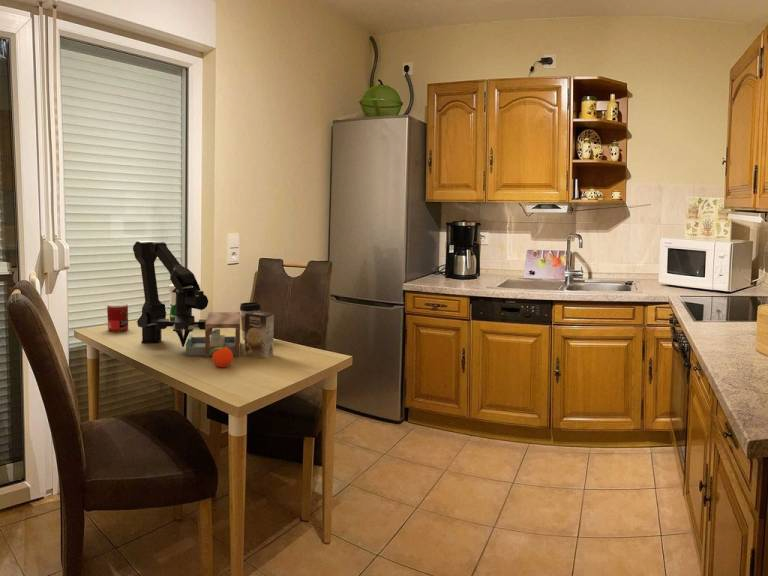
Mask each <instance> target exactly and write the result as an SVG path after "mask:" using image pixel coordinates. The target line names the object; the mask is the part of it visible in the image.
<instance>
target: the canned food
mask: <svg viewBox="0 0 768 576" xmlns="http://www.w3.org/2000/svg"><path fill="white" fill-rule="evenodd" d="M106 306H107V307H106V309H107V310H106V312H107V329H108V331H109V332H111V331H114V332H113V333H119V332H118V331H122V332H126V331H128V329H129V304H128V303H126V302H125V303H124V302H111V303H107V305H106ZM125 330H126V331H125Z"/></svg>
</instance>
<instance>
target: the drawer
mask: <svg viewBox="0 0 768 576" xmlns="http://www.w3.org/2000/svg"><path fill="white" fill-rule="evenodd" d="M218 347H227V348H228V349H230V350H231V351H232V353H233V356H235V335H233V336H229V335H228V336H226V335H225V344H224V346H210V352H211V351H212V350H213V349H215V348H218ZM215 350H216V349H215ZM215 350H213V351H212V352H211V353H210V356H213V353H214V351H215ZM185 356H205V336H193V334H192V333H191V334H190V333H189V334H188V337H187V339H186V342H185Z"/></svg>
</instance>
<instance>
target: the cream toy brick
mask: <svg viewBox="0 0 768 576" xmlns="http://www.w3.org/2000/svg"><path fill="white" fill-rule="evenodd" d="M225 336H226V335H225V334H221V328H213V329H212V332H211V335H210V346H224V344H225Z"/></svg>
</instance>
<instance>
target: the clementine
mask: <svg viewBox="0 0 768 576" xmlns="http://www.w3.org/2000/svg"><path fill="white" fill-rule="evenodd" d="M215 349H216V350H215ZM215 349H213V350H215V351H214V353H213V355H212V362H213V364H214V365H215V366H217V367H219V368H226V367H229V366H230V365H231V363H232V362H233V360H234V355H233V353H232V351H231V350H230V349H228V348H227V347H218V348H215ZM213 350H212V351H213ZM212 351H211V352H212ZM211 352H210V353H211Z"/></svg>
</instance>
